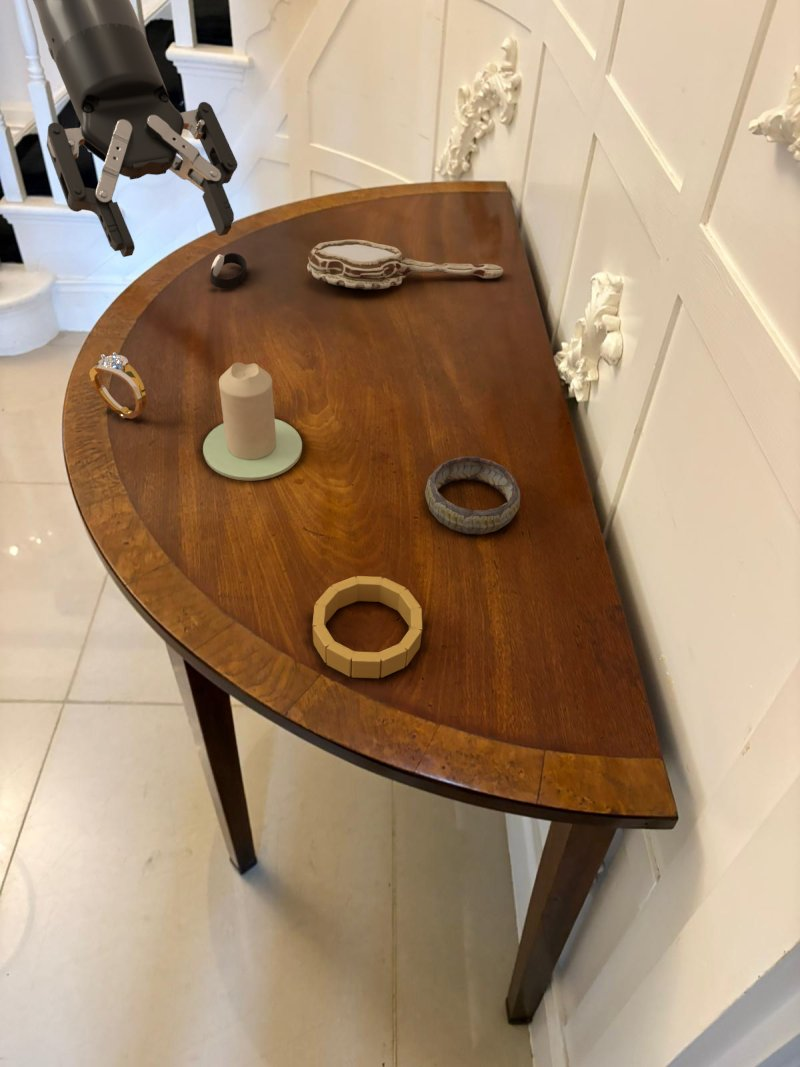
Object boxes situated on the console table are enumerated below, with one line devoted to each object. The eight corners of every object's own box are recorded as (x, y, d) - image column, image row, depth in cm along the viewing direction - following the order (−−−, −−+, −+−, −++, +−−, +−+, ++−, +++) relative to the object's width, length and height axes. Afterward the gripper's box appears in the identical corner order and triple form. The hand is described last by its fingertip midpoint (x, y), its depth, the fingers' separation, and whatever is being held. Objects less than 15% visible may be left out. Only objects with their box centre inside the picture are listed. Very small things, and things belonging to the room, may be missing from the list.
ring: (156, 420, 91) (144, 361, 86) (135, 434, 89) (122, 374, 84) (114, 398, 94) (100, 340, 88) (93, 411, 92) (77, 352, 86)
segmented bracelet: (344, 694, 67) (344, 677, 65) (296, 616, 72) (295, 598, 70) (439, 652, 70) (442, 635, 68) (387, 580, 76) (388, 562, 74)
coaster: (224, 492, 83) (224, 489, 83) (189, 434, 90) (188, 431, 90) (318, 463, 88) (318, 459, 87) (278, 409, 94) (278, 406, 94)
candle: (216, 444, 88) (206, 367, 81) (254, 423, 91) (248, 348, 84) (248, 467, 86) (240, 390, 79) (286, 445, 89) (282, 370, 82)
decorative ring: (534, 527, 82) (493, 467, 89) (539, 504, 80) (498, 445, 86) (445, 548, 79) (410, 485, 86) (448, 525, 77) (412, 462, 84)
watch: (225, 265, 119) (223, 242, 116) (254, 270, 118) (252, 247, 116) (203, 288, 114) (199, 264, 111) (233, 294, 113) (230, 270, 110)
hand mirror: (516, 280, 115) (313, 269, 108) (504, 311, 120) (309, 303, 113) (500, 233, 121) (306, 221, 114) (489, 265, 126) (302, 255, 119)
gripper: (10, 28, 57) (100, 242, 59) (192, 12, 64) (268, 206, 65) (9, 87, 64) (90, 278, 66) (174, 67, 70) (244, 242, 72)
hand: (179, 242), depth 66 cm, fingers open, 8 cm apart
